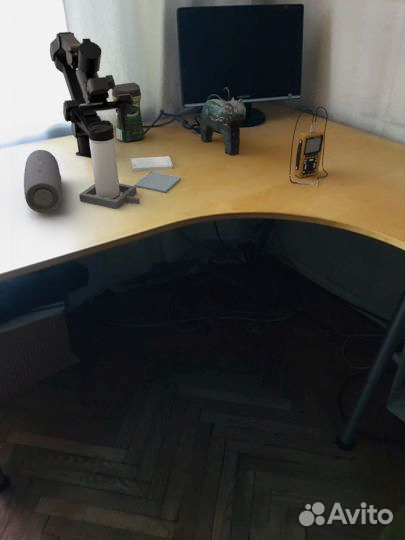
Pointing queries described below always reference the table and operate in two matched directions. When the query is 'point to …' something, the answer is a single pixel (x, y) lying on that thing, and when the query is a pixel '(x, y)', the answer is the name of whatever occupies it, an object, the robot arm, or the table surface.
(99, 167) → the travel mug
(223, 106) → the animal figurine
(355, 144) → the table surface
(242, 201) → the table surface
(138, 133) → the coffee jar
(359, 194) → the table surface
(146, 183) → the mat
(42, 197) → the bluetooth speaker
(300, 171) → the multimeter
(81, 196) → the collar
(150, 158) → the hard drive
